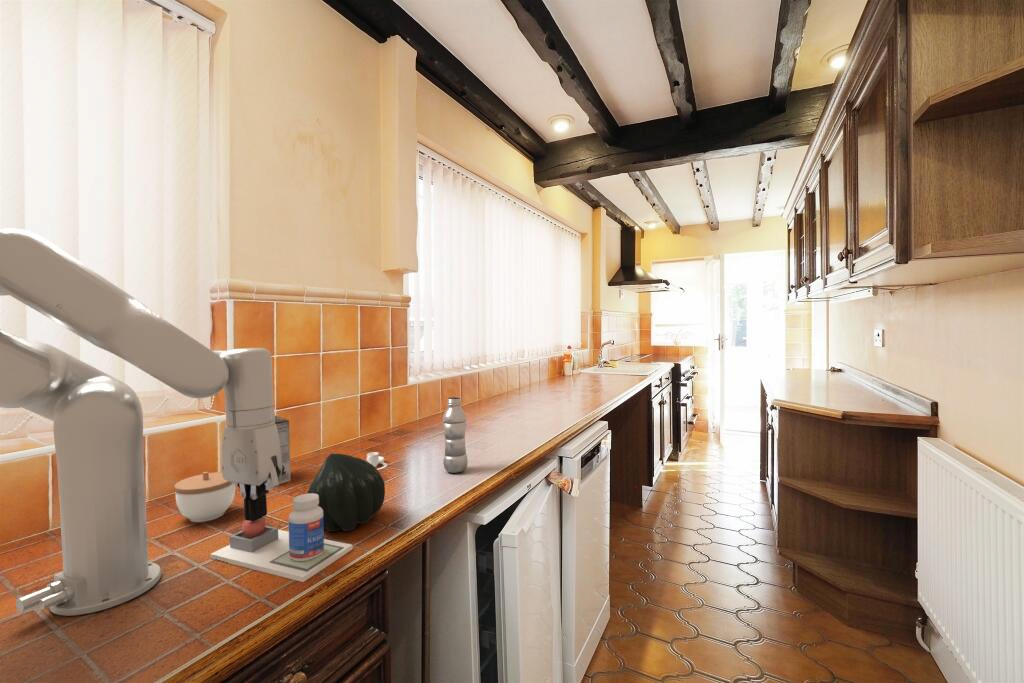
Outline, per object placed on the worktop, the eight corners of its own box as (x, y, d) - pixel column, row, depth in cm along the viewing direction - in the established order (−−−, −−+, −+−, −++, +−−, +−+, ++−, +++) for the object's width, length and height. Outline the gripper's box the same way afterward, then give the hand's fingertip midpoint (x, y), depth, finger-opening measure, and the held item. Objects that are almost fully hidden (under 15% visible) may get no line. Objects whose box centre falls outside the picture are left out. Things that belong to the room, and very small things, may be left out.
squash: (408, 494, 92) (373, 433, 97) (344, 524, 80) (308, 453, 84) (376, 526, 98) (345, 468, 103) (313, 559, 86) (281, 491, 91)
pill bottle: (311, 563, 74) (309, 504, 73) (282, 560, 75) (280, 502, 75) (330, 547, 79) (329, 492, 79) (303, 545, 80) (301, 490, 80)
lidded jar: (182, 532, 88) (180, 485, 88) (170, 517, 95) (168, 473, 95) (243, 515, 96) (242, 471, 96) (228, 502, 103) (226, 461, 103)
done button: (252, 538, 79) (252, 526, 79) (237, 534, 81) (237, 523, 80) (270, 529, 83) (269, 518, 82) (255, 526, 84) (255, 515, 84)
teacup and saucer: (378, 461, 135) (377, 447, 134) (395, 466, 130) (395, 451, 130) (352, 469, 127) (351, 454, 127) (369, 474, 123) (369, 459, 123)
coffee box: (251, 480, 118) (249, 419, 117) (277, 474, 123) (275, 415, 122) (266, 488, 112) (263, 423, 111) (292, 481, 117) (290, 419, 116)
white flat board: (303, 582, 70) (302, 564, 70) (210, 558, 78) (209, 542, 78) (352, 549, 80) (352, 533, 80) (266, 531, 88) (265, 517, 88)
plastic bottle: (472, 470, 124) (471, 397, 123) (457, 477, 118) (455, 400, 117) (454, 466, 127) (453, 395, 126) (438, 473, 121) (436, 399, 121)
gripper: (201, 419, 80) (207, 521, 81) (262, 424, 75) (268, 533, 75) (240, 411, 87) (245, 504, 88) (299, 415, 82) (304, 514, 82)
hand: (256, 517), depth 82 cm, fingers closed
